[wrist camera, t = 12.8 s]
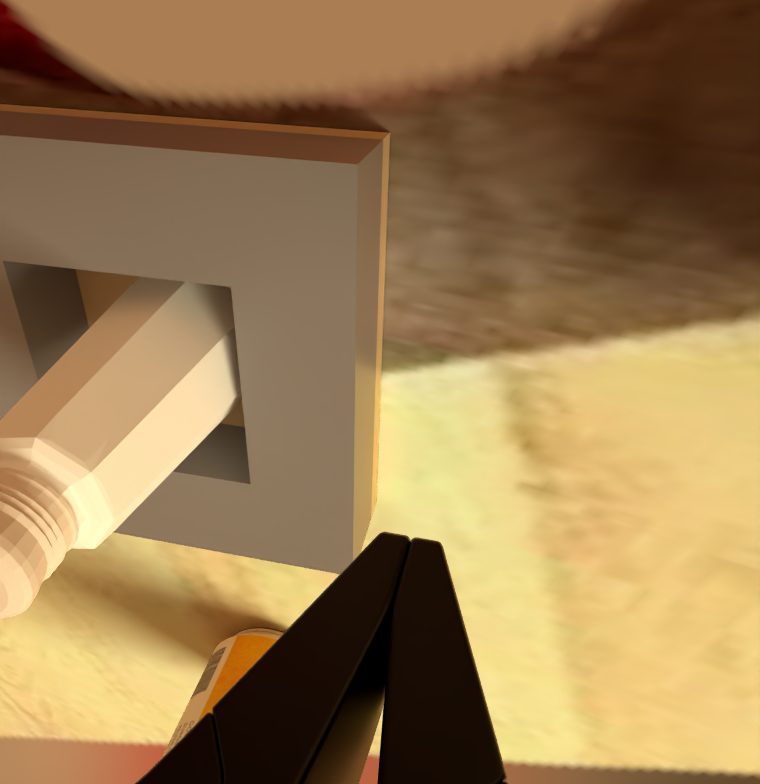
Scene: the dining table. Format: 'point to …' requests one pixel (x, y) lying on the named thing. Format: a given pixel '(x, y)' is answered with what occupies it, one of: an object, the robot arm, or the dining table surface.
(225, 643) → the beer can
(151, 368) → the pepper shaker
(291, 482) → the socket block
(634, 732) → the dining table surface
